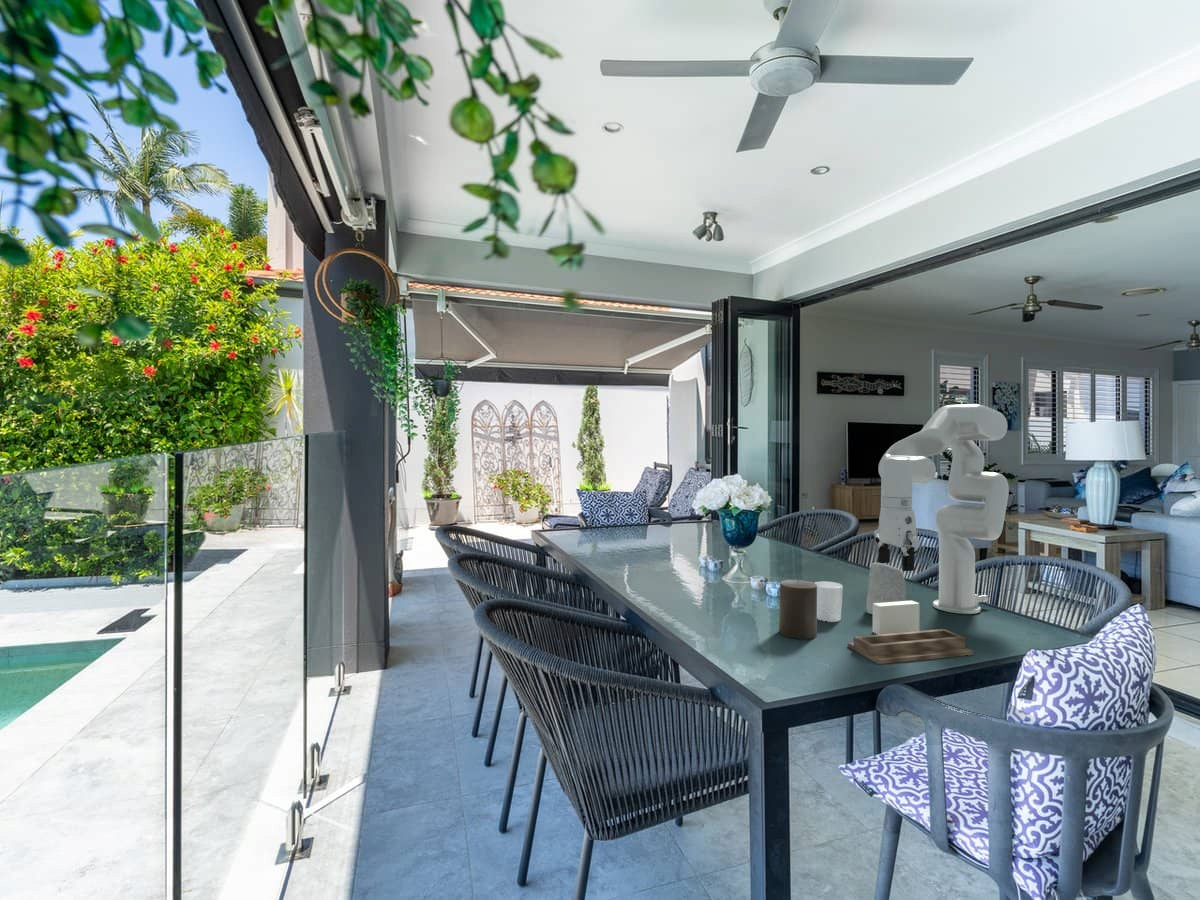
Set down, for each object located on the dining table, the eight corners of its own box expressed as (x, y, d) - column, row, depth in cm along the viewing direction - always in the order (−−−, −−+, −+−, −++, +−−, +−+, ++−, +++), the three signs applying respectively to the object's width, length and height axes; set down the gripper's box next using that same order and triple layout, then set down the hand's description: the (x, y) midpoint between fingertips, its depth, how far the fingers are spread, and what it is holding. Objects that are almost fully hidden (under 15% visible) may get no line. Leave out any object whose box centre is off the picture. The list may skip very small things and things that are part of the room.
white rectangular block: (911, 629, 171) (911, 600, 170) (919, 632, 168) (919, 603, 167) (872, 632, 168) (872, 603, 168) (879, 636, 165) (879, 606, 165)
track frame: (937, 638, 163) (937, 625, 162) (973, 655, 151) (973, 641, 151) (847, 646, 157) (847, 633, 157) (877, 664, 146) (877, 649, 146)
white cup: (845, 623, 176) (845, 588, 176) (815, 622, 178) (815, 587, 177) (840, 615, 184) (840, 581, 183) (812, 614, 185) (812, 580, 185)
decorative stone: (905, 612, 185) (905, 563, 185) (908, 618, 180) (908, 567, 179) (865, 609, 189) (865, 560, 188) (867, 615, 183) (867, 565, 183)
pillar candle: (798, 642, 161) (798, 584, 161) (771, 631, 170) (772, 576, 169) (824, 636, 166) (825, 580, 165) (797, 626, 174) (798, 573, 174)
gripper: (931, 506, 159) (931, 573, 160) (887, 499, 176) (887, 559, 177) (905, 507, 158) (905, 574, 158) (864, 500, 175) (863, 560, 175)
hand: (895, 566), depth 167 cm, fingers open, 9 cm apart
